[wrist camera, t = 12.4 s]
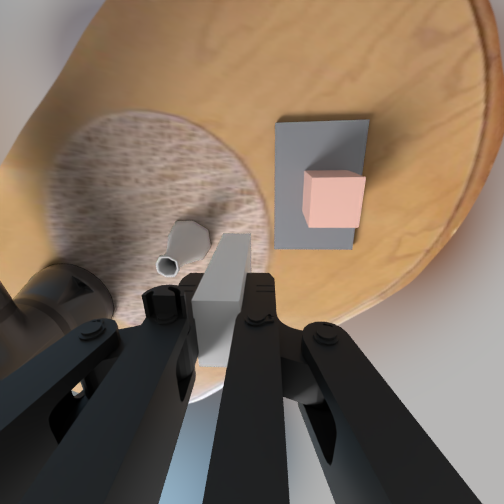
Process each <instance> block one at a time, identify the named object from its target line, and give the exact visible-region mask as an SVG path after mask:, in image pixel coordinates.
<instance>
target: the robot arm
mask: <svg viewBox="0 0 504 504" xmlns="http://www.w3.org/2000/svg"><path fill="white" fill-rule="evenodd" d="M142 300H143V304H144V309H145V314H146V318H145V320H144V321H143V323H142V324H141V325H139V326H135V327H129V328H124V329H118V326H117V323H116V322H115V321H114V320H112V319H111V318H112V315H113V301H112V298H111V296H110V293H109V292H108V290H107V288H106V287H105V286H104V284H103V283H102V282H101V281H100V280H99V279H98V278H97V277H95V276H94V275H93V274H91V273H90V272H88V271H86V270H84V269H82V268H80V267H77V266H74V265H69V264H55V265H51V266H49V267H47V268H45V269H43V270H41V271H39V272H38V273H36V274H35V275H34V276H32V277H31V279H30V280H29V281H28V283H27V284H26V285H25V286H24V287H23V288H22V289H21V291H20V292H19V293H18V294H17V295H16V296H15V298H14V299H13V300H12V298H11V296H10V295H9V293H8V292H7V290H6V289H5V287H4V286H3V284H2V283H1V281H0V504H158V503H159V500H160V497H161V493H162V490H163V486H164V483H165V480H166V476H167V473H168V470H169V466H170V463H171V460H172V456H173V453H174V450H175V446H176V443H177V439H178V436H179V433H180V429H181V426H182V423H183V419H184V416H185V412H186V409H187V406H188V403H189V399H190V396H191V392H192V389H193V386H194V382H195V377H196V372H195V363H196V360H197V357H198V359H199V366H202V367H227V370H226V375H225V381H224V386H223V392H222V398H221V403H220V409H219V415H218V420H217V425H216V431H215V436H214V442H213V448H212V453H211V459H210V464H209V470H208V475H207V481H206V487H205V492H204V498H203V503H202V504H290V502H289V487H288V470H287V455H286V439H285V422H284V407H283V397H286V398H289V399H291V400H294V401H297V402H298V406H299V409H300V412H301V414H302V417H303V419H304V422H305V425H306V427H307V430H308V433H309V435H310V438H311V441H312V443H313V445H314V448H315V451H316V454H317V456H318V459H319V462H320V464H321V467H322V469H323V472H324V475H325V477H326V480H327V483H328V485H329V487H330V490H331V493H332V496H333V498H334V501H335V503H336V504H482V503H481V502H480V500H479V499H478V498H477V497H476V495H475V494H474V493H473V492H472V490H471V489H470V488H469V487H468V485H467V484H466V483H465V482H464V480H463V479H462V478H461V476H460V475H459V474H458V473H457V471H456V470H455V469H454V468H453V466H452V465H451V464H450V463H449V461H448V460H447V459H446V457H445V456H444V455H443V454H442V452H441V451H440V450H439V448H438V447H437V446H436V445H435V443H434V442H433V441H432V440H431V438H430V437H429V436H428V434H426V432H425V431H424V430H423V428H422V427H421V426H420V424H419V423H418V422H417V421H416V419H415V418H414V417H413V416H412V414H411V413H410V412H409V410H408V409H407V408H406V407H405V405H404V404H403V403H402V402H401V400H400V399H399V398H398V397H397V395H396V394H395V393H394V391H393V390H392V389H391V388H390V386H389V385H388V384H387V383H386V381H385V380H384V379H383V377H382V376H381V375H380V374H379V373H378V371H377V370H376V369H375V367H374V366H373V365H372V364H371V362H370V361H369V360H368V359H367V357H366V356H365V355H364V353H363V352H362V351H361V350H360V348H359V347H358V346H357V344H356V343H355V342H354V341H353V340H352V338H351V337H350V336H349V334H348V333H347V332H346V331H345V330H343V329H342V328H341V327H339V326H337V325H335V324H332V323H328V322H314V323H310V324H308V325H307V326H306V327H304V329H303V331H302V330H298V329H294V328H291V327H288V326H287V325H285V324H283V323H282V322H281V321H280V320H279V319H278V317H277V314H276V298H275V282H274V278H273V277H272V276H271V274H270V273H251V234H233V233H223V236H222V238H221V240H220V242H219V244H218V246H217V248H216V250H215V252H214V254H213V256H212V259H211V261H210V263H209V265H208V267H207V269H206V271H205V273H190V274H188V275H187V276H185V277H184V278H182V280H181V282H180V283H179V285H178V286H177V285H161V286H157V287H154V288H152V289H150V290H147V291H146V292H145V293H144V294H142ZM79 382H81V385H82V387H83V390H82V391H81V392H80V393H79V394H77V395H76V396H73V394H72V392H71V390H72V389H73V388H74V387H75V386H76V385H77V384H78V383H79Z"/></svg>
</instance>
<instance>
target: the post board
mask: <svg viewBox="0 0 504 504" xmlns="http://www.w3.org/2000/svg"><path fill="white" fill-rule="evenodd" d="M368 127H369V119H368V120H340V121H312V122H285V123H275V241H274V249H351V250H352V247H353V239H354V232H355V228H309V227H308V224H307V222H306V219H305V217H304V215H303V212H302V206H303V188H304V171H307V170H349V171H351V172H354V173H356V174H359V175H362V172H363V164H364V157H365V149H366V142H367V134H368Z"/></svg>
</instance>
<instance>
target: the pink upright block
mask: <svg viewBox="0 0 504 504" xmlns="http://www.w3.org/2000/svg"><path fill="white" fill-rule="evenodd" d="M365 181H366V177H364V176H362V175H359V174H356V173H354V172H351V171H349V170H307V171H304V188H303V206H302V212H303V215H304V217H305V219H306V222H307V224H308V227H309V228H359V222H360V215H361V208H362V201H363V194H364V187H365Z"/></svg>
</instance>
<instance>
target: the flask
mask: <svg viewBox="0 0 504 504" xmlns="http://www.w3.org/2000/svg"><path fill="white" fill-rule="evenodd" d="M210 247H211V244H210V238H209V231H208V230H207V229H206V228H204V227H203V226H201V225H199V224H198V223H196V222H195V221H176V222H175V224H174V225H173V227H172V229H171V231H170V233H169V235H168V245H167V251H166V253H165V255H161V256H159V258H158V260H157V262H156V268H157V272H158V273H160V274H161V275H163V276H165V277H175V276H176V275H177V273H178V271H179V270H180V267H182V266H183V265H185V264H188V263H191V262H195V261H199V260H202V259H203V258H204V257H205V255H206V253H207V252H208V250H209V249H210Z"/></svg>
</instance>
